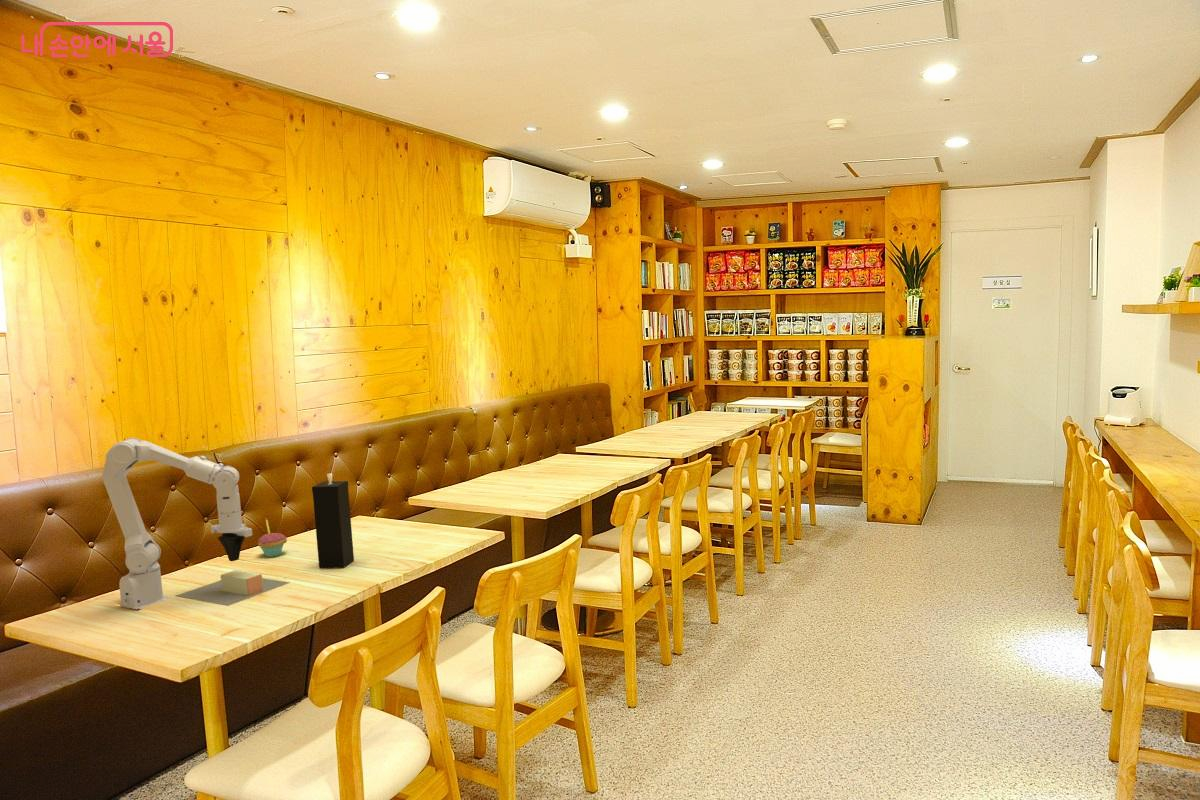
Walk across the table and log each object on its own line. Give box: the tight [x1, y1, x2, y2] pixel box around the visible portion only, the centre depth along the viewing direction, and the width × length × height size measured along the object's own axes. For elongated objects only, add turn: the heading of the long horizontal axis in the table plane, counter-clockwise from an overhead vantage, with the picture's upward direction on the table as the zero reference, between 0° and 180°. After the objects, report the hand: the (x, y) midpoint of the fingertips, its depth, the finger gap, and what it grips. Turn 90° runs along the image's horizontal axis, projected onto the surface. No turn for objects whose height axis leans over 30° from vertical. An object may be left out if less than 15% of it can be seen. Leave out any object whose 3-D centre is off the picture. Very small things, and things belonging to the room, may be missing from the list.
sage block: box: [220, 569, 263, 595], centre depth 226 cm, size 4×4×11 cm
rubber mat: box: [175, 577, 291, 607], centre depth 228 cm, size 20×22×1 cm
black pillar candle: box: [311, 472, 355, 569], centre depth 247 cm, size 8×8×28 cm
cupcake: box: [257, 518, 288, 558], centre depth 263 cm, size 9×8×12 cm
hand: (234, 560), depth 226 cm, fingers closed
